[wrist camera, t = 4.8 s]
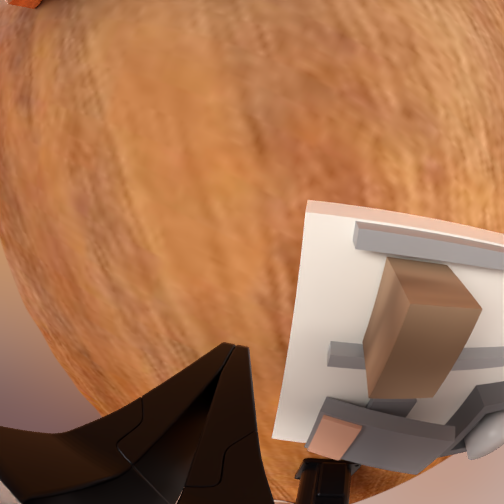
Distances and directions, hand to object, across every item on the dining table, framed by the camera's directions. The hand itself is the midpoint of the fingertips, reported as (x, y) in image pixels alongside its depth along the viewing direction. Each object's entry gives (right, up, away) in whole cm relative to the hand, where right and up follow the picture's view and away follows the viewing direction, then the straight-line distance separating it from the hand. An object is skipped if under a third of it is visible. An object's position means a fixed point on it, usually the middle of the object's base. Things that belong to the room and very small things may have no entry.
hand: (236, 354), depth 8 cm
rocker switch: (+9, -9, +4) cm, 13 cm away
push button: (+18, -10, +3) cm, 21 cm away
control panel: (+14, -3, +6) cm, 15 cm away
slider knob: (+7, +1, +2) cm, 8 cm away
